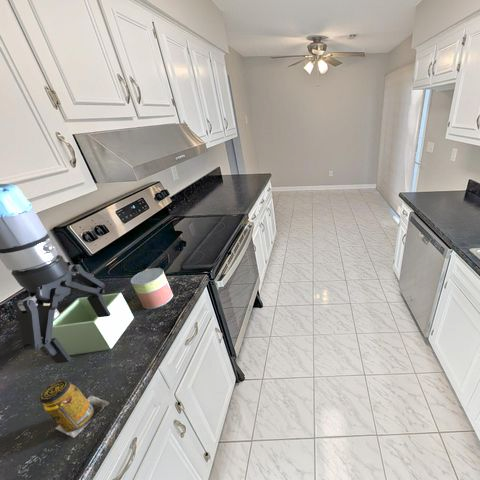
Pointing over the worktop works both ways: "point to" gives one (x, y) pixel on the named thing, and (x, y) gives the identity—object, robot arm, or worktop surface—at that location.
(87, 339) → the trash bin
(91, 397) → the condiment
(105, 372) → the worktop surface
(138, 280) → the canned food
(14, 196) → the robot arm
